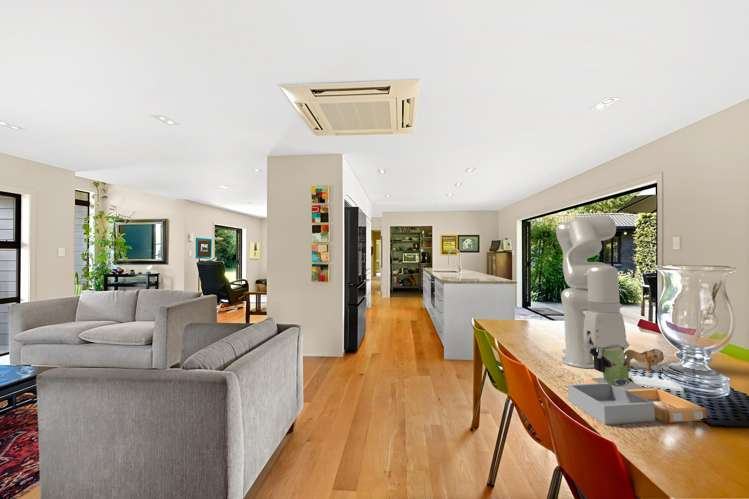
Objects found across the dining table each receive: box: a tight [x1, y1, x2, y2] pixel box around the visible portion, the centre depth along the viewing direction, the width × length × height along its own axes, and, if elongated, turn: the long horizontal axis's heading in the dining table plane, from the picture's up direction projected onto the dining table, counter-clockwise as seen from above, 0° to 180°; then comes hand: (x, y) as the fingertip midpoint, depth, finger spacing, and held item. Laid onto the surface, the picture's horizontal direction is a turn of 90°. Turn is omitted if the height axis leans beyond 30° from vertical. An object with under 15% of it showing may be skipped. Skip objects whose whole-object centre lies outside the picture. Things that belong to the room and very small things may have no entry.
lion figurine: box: [624, 348, 665, 374], centre depth 125 cm, size 15×5×9 cm, turn 34°
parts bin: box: [567, 383, 656, 426], centre depth 92 cm, size 14×14×5 cm
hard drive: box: [630, 375, 685, 393], centre depth 110 cm, size 2×8×12 cm
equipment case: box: [587, 377, 708, 424], centre depth 99 cm, size 29×12×3 cm, turn 4°
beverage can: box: [602, 346, 631, 387], centre depth 92 cm, size 6×7×12 cm
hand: (606, 369), depth 93 cm, fingers closed on beverage can, 3 cm apart
